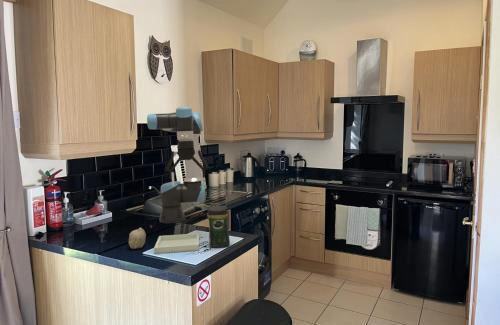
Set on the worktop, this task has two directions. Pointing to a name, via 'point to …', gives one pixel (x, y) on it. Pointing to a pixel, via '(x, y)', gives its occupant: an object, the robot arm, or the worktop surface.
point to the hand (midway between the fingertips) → (187, 185)
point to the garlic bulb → (137, 238)
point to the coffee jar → (218, 226)
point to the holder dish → (177, 243)
